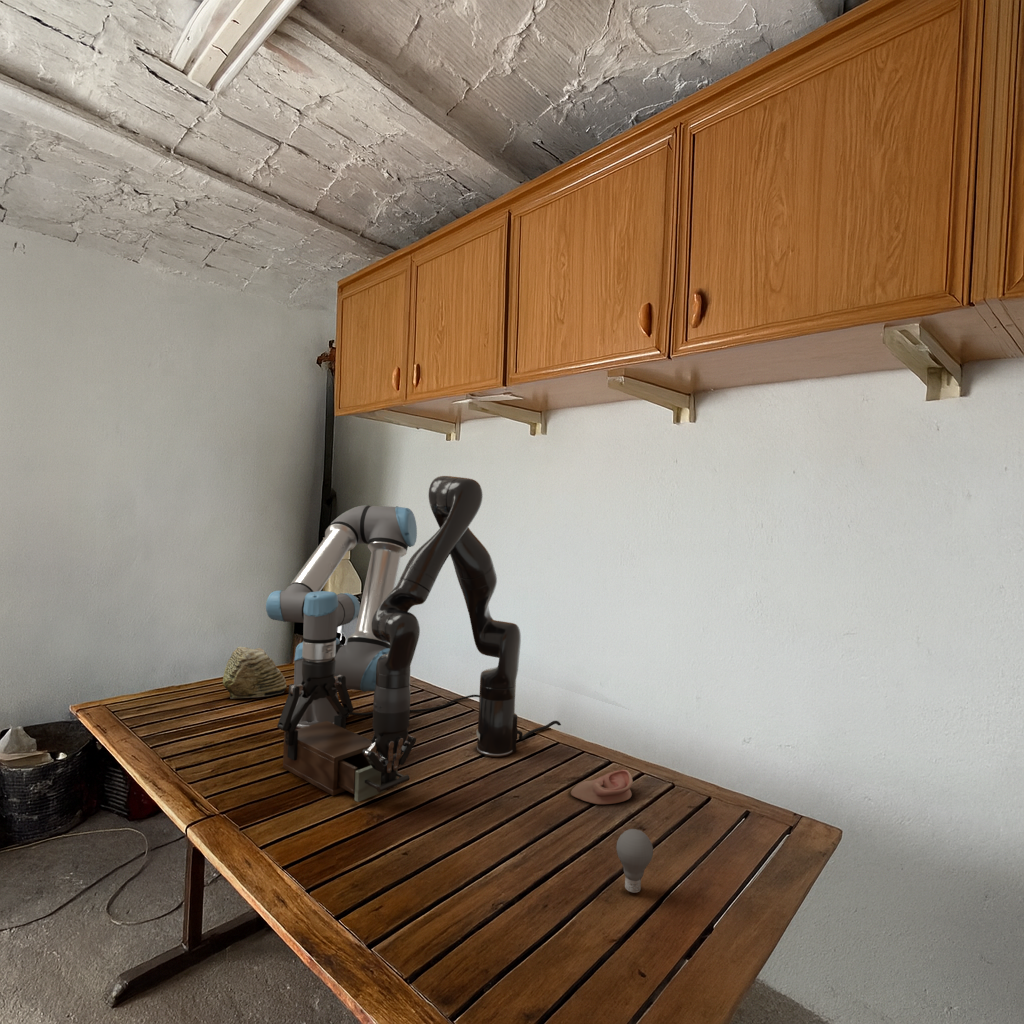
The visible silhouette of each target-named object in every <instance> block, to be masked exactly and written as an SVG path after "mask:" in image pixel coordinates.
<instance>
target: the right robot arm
mask: <svg viewBox="0 0 1024 1024" xmlns="http://www.w3.org/2000/svg"><path fill="white" fill-rule="evenodd" d="M483 495H484V494H483V489H482V487H481V484H480V483H479V482H478V481H477V480H476V479H474V478H469V477H460V476H451V475H440V476H437V477H435V478H434V479H433V480H432V481H431V482H430V485H429V487H428V503H429V507H430V509H431V512H432V514H433V517H434V518H435V521H436V523H437V526H438V527H439V529H438V530H436V532H435V533H433V535H432V536H431V537H430V538H429V539H428V540H426V542H424V543H423V544H422V545H421V546H420V547H419V548H418V549H416V551H414V553H413V554H412V555H411V556H410V558H409V560H408V562H407V564H406V565H405V568H404V570H403V572H402V574H401V576H400V577H399V579H398V582H397V583H396V585H395V588H394V589H393V590H392V591H391V593H390V594H389V595H388V596H387V597H386V599H385V600H384V601H383V602H382V604H381V605H380V606H379V607H378V609H377V610H376V612H375V614H374V616H373V619H372V626H371V627H372V633H373V635H374V636H375V637H376V638H377V639H379V640H381V641H384V642H388V643H390V645H389V649H390V650H389V653H388V654H384V655H382V656H380V657H379V658H378V660H377V666H376V685H375V691H373V703H372V704H373V705H372V707H373V708H372V712H373V714H372V729H373V735H372V738H371V740H372V744H371V746H370V747H369V748H368V749H364V750H363V751H362V754H363V756H364V757H365V758H366V760H367V761H368V762H369V763H370V765H371V766H372V767H373V768H374V769H375V770H377V771H379V772H381V785H382V784H385V783H387V782H390V781H392V780H395V779H396V770H397V769H399V766H403V765H404V764H405V763H406V761H407V759H408V757H409V755H410V753H411V752H412V750H413V748H414V746H415V744H416V742H417V738H416V737H414V736H412V735H410V734H409V730H408V729H409V728H410V717H411V716H410V715H411V712H410V710H411V667H412V666H411V665H412V661H413V659H414V657H415V653H416V650H417V646H418V643H419V639H420V636H421V635H420V634H421V632H420V631H421V628H420V623H419V619H418V617H417V616H416V615H415V614H413V613H412V612H411V611H410V610H411V608H413V607H415V606H420V605H423V604H425V603H426V601H427V599H428V597H429V595H430V594H431V591H432V590H433V587H434V585H435V584H436V581H437V578H438V576H439V574H440V572H441V571H442V568H443V566H444V564H445V563H446V561H447V560H448V558H449V557H450V558H451V561H452V564H453V568H454V572H455V575H456V578H457V581H458V584H459V587H460V589H461V593H462V595H463V598H464V602H465V606H466V609H467V612H468V617H469V621H470V622H469V623H470V627H471V631H472V636H473V641H474V644H475V647H476V650H477V651H478V652H479V653H480V654H481V655H483V656H487V657H491V658H496V659H498V664H497V666H495V667H490V668H486V669H484V670H482V671H481V673H480V676H479V695H480V696H479V697H478V700H479V701H478V719H477V720H478V721H477V729H476V738H477V739H476V742H477V743H476V751H477V753H479V754H481V755H482V756H486V757H490V758H502V757H507V756H509V755H511V754H513V753H516V752H517V740H518V739H519V740H520V741H523V740H525V739H526V738H528V737H529V736H531V735H532V734H534V733H537V732H538V733H539V732H541V731H544V730H547V729H548V728H550V727H552V726H553V725H557V726H562V724H561V722H560V721H559V720H552V721H551V722H549V723H547V724H545V725H542V726H539V727H537V728H533V729H531V730H529V731H527V732H526V733H525V734H523V732H522V731H521V730H519V729H518V714H517V713H516V712H515V710H516V690H517V689H516V688H517V687H516V686H517V677H518V673H519V665H520V655H521V646H522V645H521V643H522V635H521V629H520V627H519V625H518V624H516V623H515V622H509V621H503V620H497V619H494V618H493V617H492V615H491V612H490V607H489V605H490V601H491V600H492V598H493V595H494V593H495V591H496V588H497V584H498V577H497V576H498V575H497V572H496V569H495V566H494V561H493V558H492V556H491V553H489V551H488V549H487V548H486V547H485V545H484V544H483V543H482V542H481V541H480V540H479V538H478V537H477V536H476V535H475V534H474V533H473V531H472V530H471V529H470V525H471V524H472V522H473V521H474V519H475V518H476V516H477V514H478V513H479V510H481V509H480V508H481V507H482V503H483V498H484V497H483ZM376 750H377V752H376ZM377 753H378V754H377ZM377 755H378V758H379V759H378V758H377ZM397 771H398V770H397ZM394 788H395V787H392V788H389V789H387V790H386V791H390V790H391V789H394Z"/></svg>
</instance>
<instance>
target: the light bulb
mask: <svg viewBox="0 0 1024 1024" xmlns="http://www.w3.org/2000/svg"><path fill="white" fill-rule="evenodd" d="M615 849H616V854H617V857H618V859H619V861H620V863H621V865H622V867H623V873H624V874H623V875H624V876H625V878H624V888H625V890H627V891H628V892H630V893H634V894H635V893H639V892H640V891H641V889H642V887H641V886H642V879H643V877H644V875H645V871H646V868H647V867H648V866H649V864H650V863H651V861H652V859H653V855H654V847H653V843H652V841H651V838H649V836H648V835H647V834H646V833H645V832H643V831H642V830H641V829H636V828H629V829H627V830H625V831H623V832H622V833H621V834H620V835H619V837H618V839H617V841H616V847H615Z"/></svg>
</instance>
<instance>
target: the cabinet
mask: <svg viewBox="0 0 1024 1024" xmlns="http://www.w3.org/2000/svg"><path fill="white" fill-rule="evenodd" d="M296 730H297V731H298V746H297V760H292V759H290V758H288V745H286V743H285V732H284V733H283V751H282V752H283V755H282V769H284V770H286V771H287V772H290V773H291V774H293V775H295V776H297V777H299V778H300V779H302V780H304V781H306V782H307V783H309V784H311V785H313V786H314V787H316V788H317V789H320V790H322V791H324V792H325V793H327V794H328V795H331V796H332V797H333V796H334V797H335V796H336V795H339V794H341V793H344V792H346V791H347V790H345V789H343V788H341V787H339V786H337V781H338V761H339V760H342V759H345V758H348V757H351V756H354V755H357V754H360V753H362V751H363V750H364V749H368V748H369V747H370V746H371V744H372V739H370V738H367V737H366V736H362V735H360V734H358V733H356V732H354V731H351V730H349V729H346V728H345V729H344V728H342V727H340V726H337V725H335V724H333V723H330V722H328V721H325V722H321V723H318V724H314V725H310V726H307V727H303V728H300V729H296ZM376 752H377V753H378V751H377V750H376ZM347 792H348V791H347Z"/></svg>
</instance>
